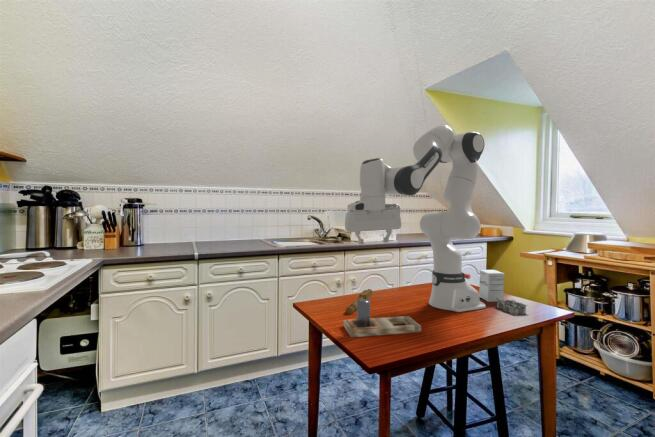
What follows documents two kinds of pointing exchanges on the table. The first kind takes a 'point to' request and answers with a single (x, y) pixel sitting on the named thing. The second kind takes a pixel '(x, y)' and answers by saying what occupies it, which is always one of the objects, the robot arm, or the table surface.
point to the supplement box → (491, 285)
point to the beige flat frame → (382, 326)
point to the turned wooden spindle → (364, 295)
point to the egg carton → (512, 306)
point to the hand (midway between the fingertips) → (373, 243)
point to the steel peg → (363, 313)
